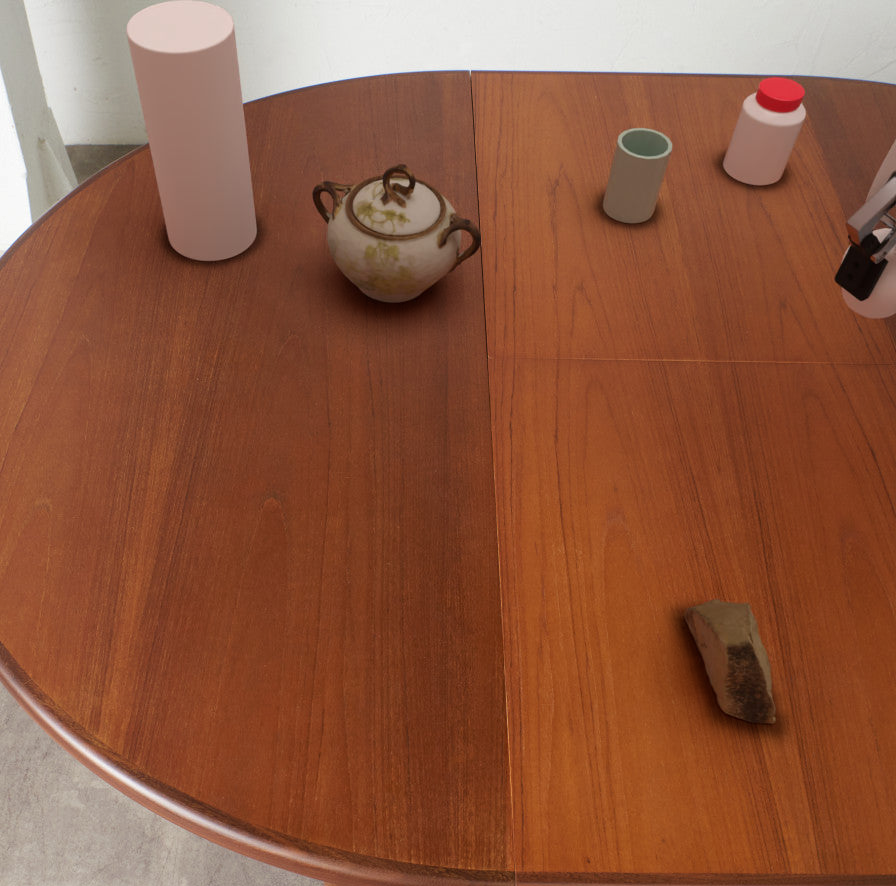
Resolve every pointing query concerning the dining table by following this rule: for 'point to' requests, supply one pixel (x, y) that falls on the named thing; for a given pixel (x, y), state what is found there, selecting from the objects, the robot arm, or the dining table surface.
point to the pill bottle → (766, 132)
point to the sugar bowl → (394, 234)
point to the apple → (878, 288)
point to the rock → (734, 658)
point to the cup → (636, 175)
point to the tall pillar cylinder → (195, 125)
